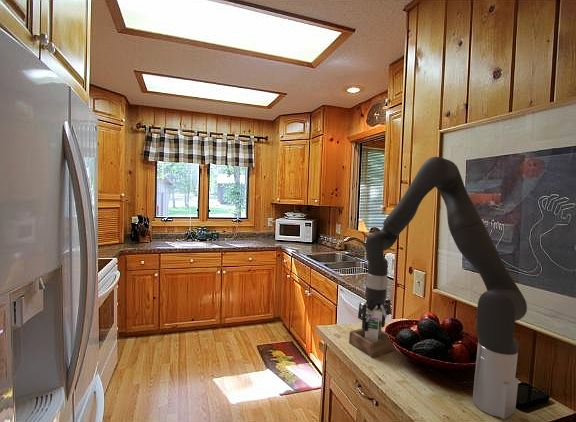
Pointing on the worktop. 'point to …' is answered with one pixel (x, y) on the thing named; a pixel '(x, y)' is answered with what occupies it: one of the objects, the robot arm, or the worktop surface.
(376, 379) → the worktop surface
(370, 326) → the syrup box
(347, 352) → the worktop surface
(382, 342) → the brown square open box
